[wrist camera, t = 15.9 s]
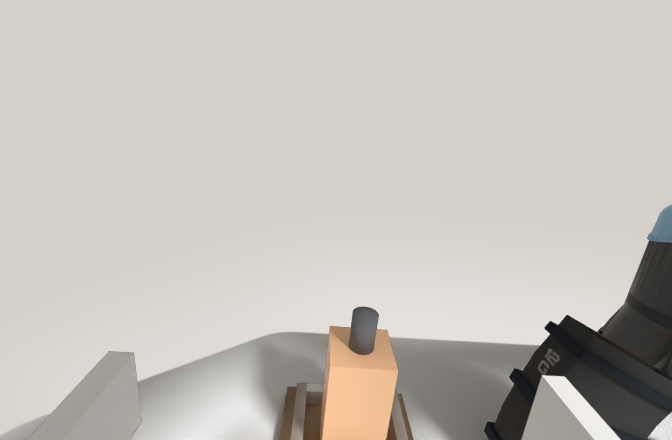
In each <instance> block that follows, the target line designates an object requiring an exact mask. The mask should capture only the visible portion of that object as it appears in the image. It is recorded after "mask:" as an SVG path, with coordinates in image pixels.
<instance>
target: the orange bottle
mask: <svg viewBox="0 0 672 440" xmlns="http://www.w3.org/2000/svg"><path fill="white" fill-rule="evenodd" d="M378 317H379V314H378V313H377V312H376V311H375V310H374V309H372V308H369V307H357V308H355V309H354V310H353V315H352V323H351V328H349V327H336V326H330V329H329V339H328V348H327V358H326V367H325V377H324V386H323V396H322V406H321V415H320V440H386V437H387V432H388V426H389V421H390V415H391V409H392V404H393V398H394V393H395V387H396V381H397V376H398V368H397V364H396V361H395V357H394V353H393V350H392V346H391V343H390V339H389V336H388V332H387V330H379V329H377V324H378Z"/></svg>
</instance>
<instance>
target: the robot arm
mask: <svg viewBox="0 0 672 440" xmlns="http://www.w3.org/2000/svg"><path fill="white" fill-rule="evenodd" d="M647 239H648V240H649V242H648V245H647V247H646V250H645V252H644V255H643V258H642V260H641V262H640V265H639V267H638V270H637V272H636V275H635V277H634V280H633V282H632V285H631V288H630V290H629V293H628V296H627V298H626V300H625V303H624V305H623V306H622V307H621V308H620V309H619V310H618V311H617V312H616V313H615V314H614V315H613V316H612V317H611V318H610V319H609V320H608V321H607V323H606V324H605V325H604V326H603V327H601V328H600V329H599V330H598V331H597V333H599V334H601V335H602V336H604V337H606V338H608V339H609V340H611V341H613V342H614V343H616V344H618V345H619V346H621V347H623V348H625V349H626V350H628V351H630V352H631V353H633V354H635V355H636V356H638V357H640V358H641V359H643V360H645V361H647V362H648V363H650V364H652V365H653V366H655V367H656V368H658V369H659V370H661V371H662V372H663V373H665V374H666V375H667V376H669V377H670V378H671V379H672V205H670V206H668V207H666V208H665V209H664V210H663V211H662V212H661V213H660V215H659V217H658V219H657V221H656V224H655V226H654V228H653V230H652V232H651V233H650V234H649V235H648V237H647ZM141 421H142V419H141V410H140V402H139V393H138V384H137V375H136V366H135V357H134V353H130V352H113V351H109V352H108V353H107V354H106V355H105V356H104V357H103V358H102V359H101V360H100V361H99V363H98V364H97V365H96V366H95V367H94V368H93V369H92V370H91V371H90V372H89V374H87V376H86V377H85V378H84V379H83V380H82V381H81V382H80V383H79V384H78V385H77V386H76V387H75V388H74V390H73V391H72V392H71V393H70V394H69V395H68V396H67V397H66V398H65V399H64V400H63V401H62V403H61V404H60V405H59V406H58V407H57V408H56V409H55V410H54V411H53V412H52V413H51V414H50V415H49V417H48V418H47V419H46V420H45V421H44V422H43V423H42V424H41V425H40V426H39V427H38V428H37V430H36V431H35V432H34V433H33V434H32V435H31V436H30V437H29V438H28V439H27V440H131V438H132V436H133V435H134V433H135V431H136V430H137V428H138V426H139V425H140V423H141ZM522 440H621V439H620V438H619V437H618V436H617V435H616V434H615V433H614V431H613V430H612V429H611V428H610V427H609V426H608V425H607V424H606V422H605V421H604V420H603V419H602V418H601V417H600V416H599V415H598V413H597V412H596V411H595V410H594V409H593V408H592V407H591V406H590V405H589V403H588V402H587V401H586V400H585V399H584V398H583V397H582V396H581V394H580V393H579V392H578V391H577V390H576V389H575V388H574V387H573V385H572V384H571V383H570V382H569V381H568V380H567V379H566V378H565V377H563V376H545V375H542V377H541V380H540V383H539V386H538V389H537V392H536V396H535V399H534V402H533V405H532V408H531V411H530V414H529V417H528V421H527V424H526V427H525V430H524V433H523V436H522Z"/></svg>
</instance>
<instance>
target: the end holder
mask: <svg viewBox="0 0 672 440" xmlns="http://www.w3.org/2000/svg"><path fill="white" fill-rule="evenodd" d="M323 386H324V384H309V383H297V387H288V388H287V394H286V401H285V408H284V414H283V421H282V427H281V434H280V440H320V415H321V406H322V396H323ZM386 440H413V436H412V433H411V429H410V425H409V421H408V417H407V414H406V410H405V406H404V402H403V398H402V395H401V394H397V392H396V389H395V393H394V398H393V404H392V409H391V415H390V421H389V426H388V432H387V437H386Z"/></svg>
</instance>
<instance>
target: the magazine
mask: <svg viewBox="0 0 672 440" xmlns="http://www.w3.org/2000/svg"><path fill="white" fill-rule="evenodd" d="M545 329H546V330H547V331H548V332H549V333H550V335H549V336H548V337H547V339H546V340H545V341H544V342H543V343H542V344H541V346H540V347H539V348H538V349H537V350H536V351H535V353H534V354H533V356H532V357H531V359H530V361H529V362H528V364H527V365H526V367H525V368H524V370H523V371H521V370H519V369H516V368H514V370H513V372H512V373H511V375H510V376H509V378H510V379H511V380H512V382H513V383H514V386H513V388H512V389H511V391H510V393H509V395H508V396H507V398H506V400H505V402H504V403H503V405H502V408H501V410H500V413H499V415H498V418H497V420H496V422H495V423H493V422H487V424H486V427H485V430H484V431H485V433H486V435H487V437H488V439H489V440H522V436H523V433H524V430H525V427H526V424H527V421H528V417H529V414H530V411H531V408H532V405H533V402H534V399H535V396H536V392H537V389H538V386H539V383H540V380H541V377H542V375H545V376H563V377H565V378H566V379H567V380H568V381H569V382H570V383H571V384H572V385H573V387H574V388H575V389H576V390H577V391H578V392H579V393H580V394H581V396H582V397H583V398H584V399H585V400H586V401H587V402H588V403H589V405H590V406H591V407H592V408H593V409H594V410H595V411H596V412H597V413H598V415H599V416H600V417H601V418H602V419H603V420H604V421H605V422H606V424H607V425H608V426H609V427H610V428H611V429H612V430H613V431H614V433H615V434H616V435H617V436H618V437H619V438H620V439H621V440H648V439H647V438H648V436H649V435H650V434H651V432H652V431H653V430H654V429H655V427H656V426H657V425H658V424H659V423H660V422H661V421H662V420H663V419H664V418H665V417H666V416H667V415H669V414H670V413H671V412H672V379H671V378H670V377H669V376H667V375H666V374H665V373H663V372H662V371H661V370H659V369H658V368H656V367H655V366H653V365H652V364H650V363H648V362H647V361H645V360H643V359H641V358H640V357H638V356H636V355H635V354H633V353H631V352H630V351H628V350H626V349H625V348H623V347H621V346H619V345H618V344H616V343H614V342H613V341H611V340H609V339H608V338H606V337H604V336H602V335H601V334H599V333H597V332H596V331H594V330H592V329H591V328H589V327H587V326H585V325H584V324H582V323H580V322H579V321H577V320H575V319H574V318H572V317H570V316H569V315H566V317H565V318H564V319H563V320H562V321H561V323H560V324H559V325H557V324H555V323H553V322H552V321H550V322H549V323H548V324H547V325H546V327H545Z"/></svg>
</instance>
